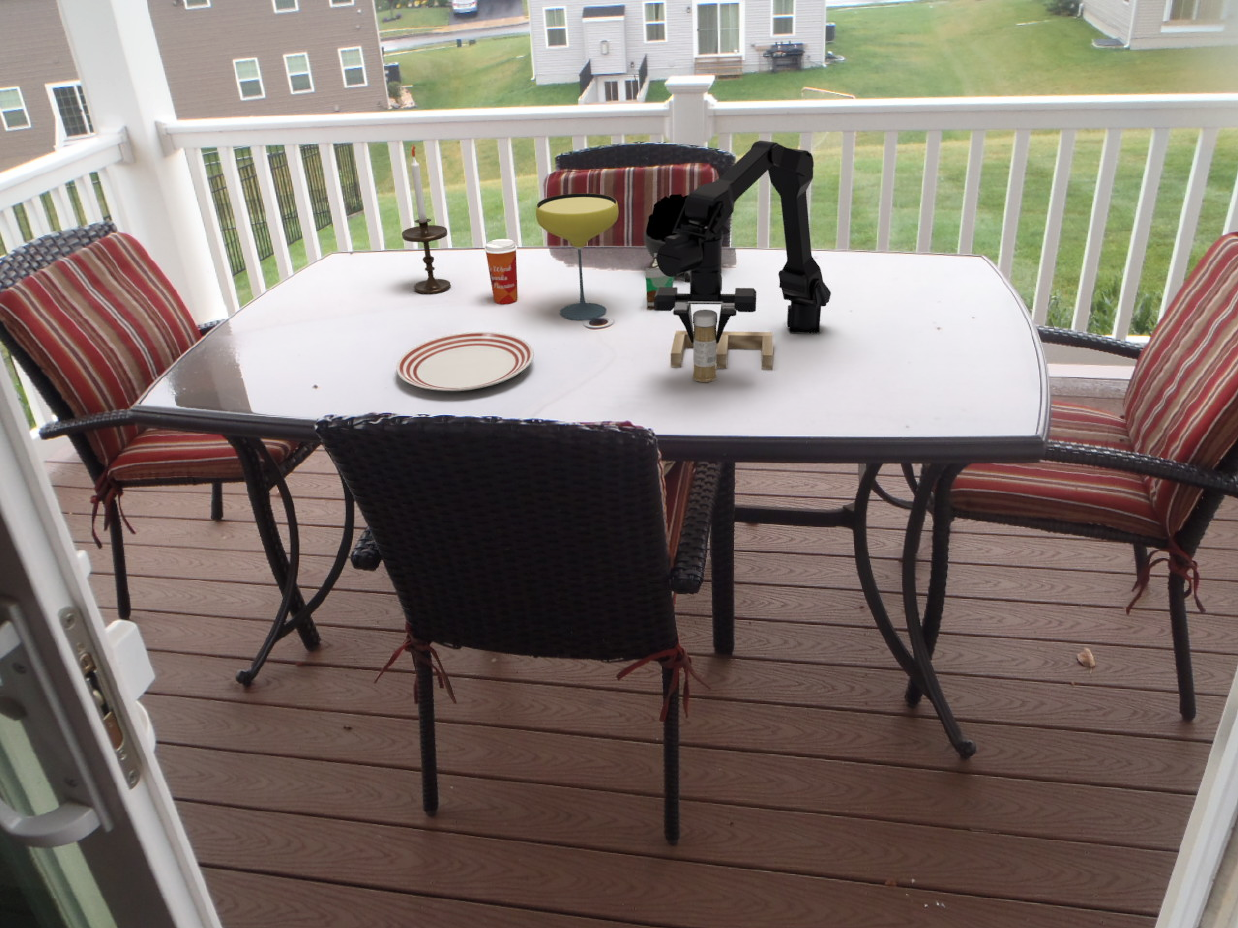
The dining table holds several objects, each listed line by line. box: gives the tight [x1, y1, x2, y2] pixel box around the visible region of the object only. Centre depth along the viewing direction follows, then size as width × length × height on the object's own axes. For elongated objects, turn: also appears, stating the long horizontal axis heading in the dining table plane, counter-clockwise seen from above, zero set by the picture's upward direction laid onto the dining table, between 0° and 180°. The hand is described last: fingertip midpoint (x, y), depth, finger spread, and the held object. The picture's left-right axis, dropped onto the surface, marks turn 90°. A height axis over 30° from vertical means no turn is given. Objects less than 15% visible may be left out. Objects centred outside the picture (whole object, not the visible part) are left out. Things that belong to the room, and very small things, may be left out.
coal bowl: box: [643, 193, 725, 259], centre depth 232 cm, size 20×20×19 cm
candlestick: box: [401, 143, 452, 295], centre depth 224 cm, size 11×11×35 cm
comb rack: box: [670, 330, 774, 370], centre depth 188 cm, size 20×12×3 cm, turn 82°
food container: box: [644, 253, 674, 310], centre depth 215 cm, size 12×6×10 cm, turn 168°
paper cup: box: [483, 238, 519, 305], centre depth 219 cm, size 8×8×14 cm
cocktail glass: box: [535, 192, 619, 321], centre depth 208 cm, size 18×18×25 cm
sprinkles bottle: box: [692, 309, 718, 383], centre depth 176 cm, size 5×5×13 cm
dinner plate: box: [396, 331, 535, 392], centre depth 186 cm, size 27×27×3 cm
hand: (704, 342), depth 176 cm, fingers closed on sprinkles bottle, 4 cm apart
